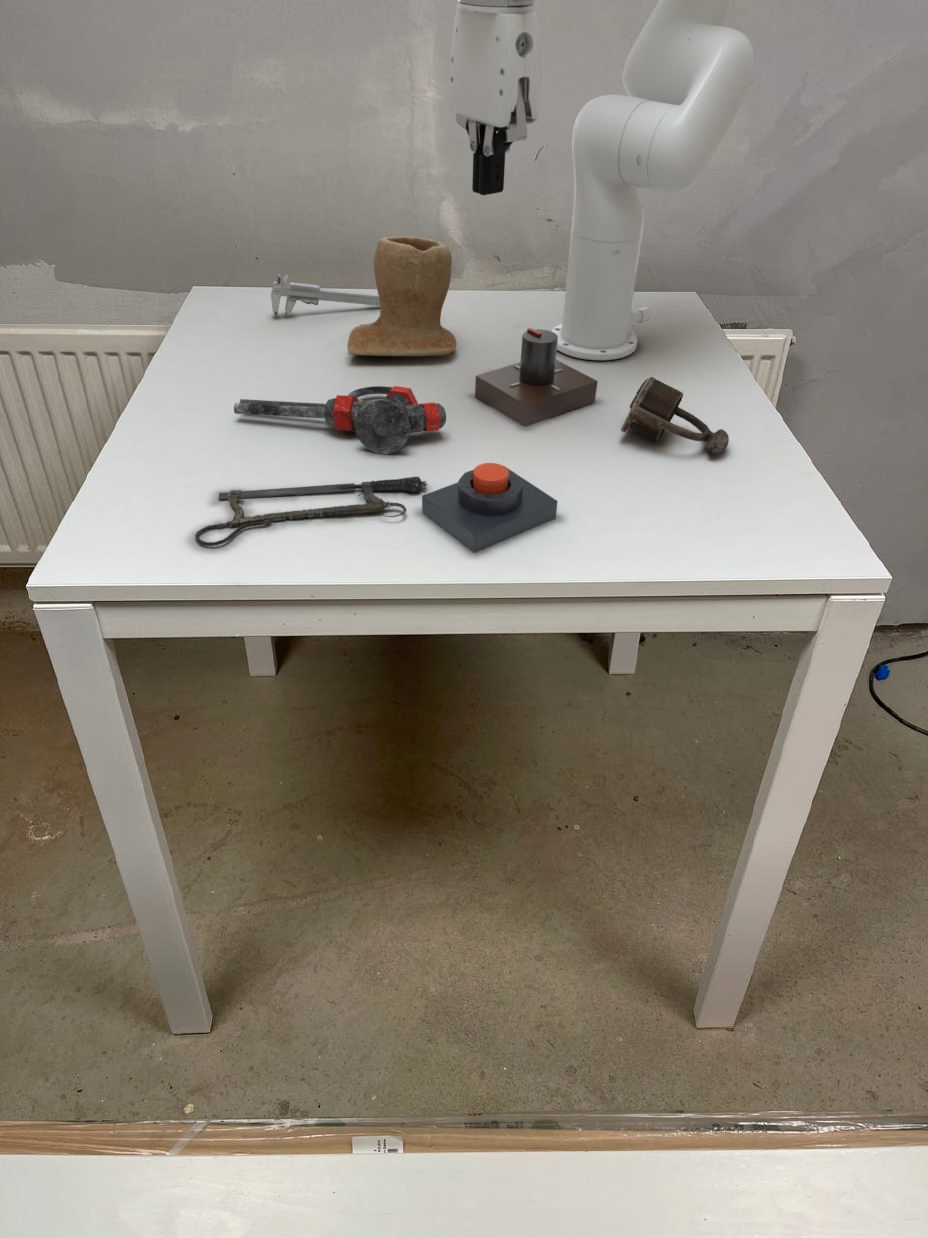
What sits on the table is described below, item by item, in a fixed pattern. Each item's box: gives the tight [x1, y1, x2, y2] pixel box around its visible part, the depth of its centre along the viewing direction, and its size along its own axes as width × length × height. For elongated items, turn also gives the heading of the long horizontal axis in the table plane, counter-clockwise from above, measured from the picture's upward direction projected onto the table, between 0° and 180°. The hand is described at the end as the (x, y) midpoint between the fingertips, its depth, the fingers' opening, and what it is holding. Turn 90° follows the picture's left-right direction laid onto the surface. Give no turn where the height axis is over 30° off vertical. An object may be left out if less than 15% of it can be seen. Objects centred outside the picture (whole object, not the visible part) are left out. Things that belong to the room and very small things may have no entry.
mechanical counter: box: [620, 376, 730, 455], centre depth 106 cm, size 7×13×10 cm
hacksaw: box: [194, 476, 428, 547], centre depth 94 cm, size 24×10×2 cm, turn 97°
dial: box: [519, 327, 558, 385], centre depth 112 cm, size 4×4×6 cm
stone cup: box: [346, 235, 458, 357], centre depth 123 cm, size 15×12×15 cm
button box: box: [421, 465, 558, 554], centre depth 94 cm, size 11×9×4 cm
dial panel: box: [474, 359, 598, 427], centre depth 115 cm, size 12×10×3 cm
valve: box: [233, 385, 447, 455], centre depth 109 cm, size 6×26×15 cm
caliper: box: [270, 273, 380, 319], centre depth 136 cm, size 20×1×6 cm, turn 109°
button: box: [473, 462, 509, 494], centre depth 92 cm, size 4×4×2 cm
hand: (487, 191), depth 100 cm, fingers closed
